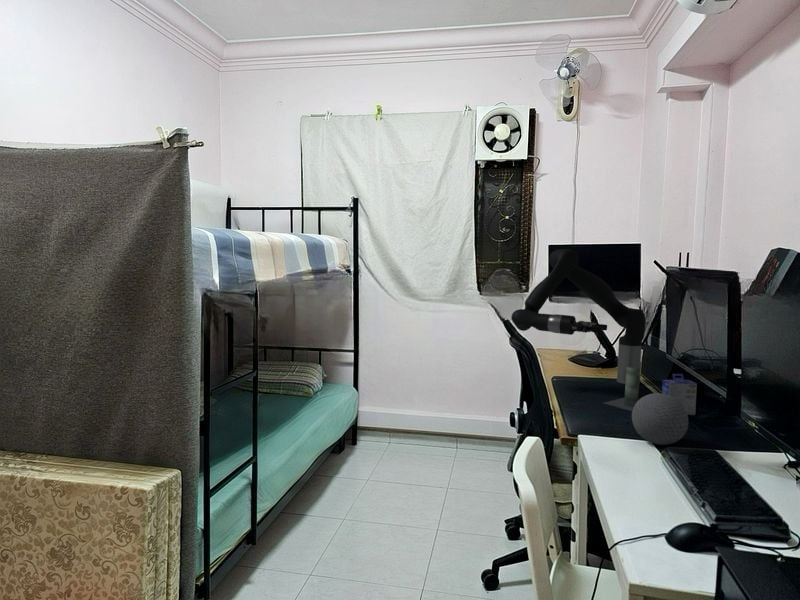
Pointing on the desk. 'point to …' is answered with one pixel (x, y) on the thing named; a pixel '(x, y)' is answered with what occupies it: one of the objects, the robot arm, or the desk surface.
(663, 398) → the decorative ball
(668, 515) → the desk surface
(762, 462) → the desk surface
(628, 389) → the green pillar
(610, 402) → the tapping mat
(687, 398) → the ink cartridge box
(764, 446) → the desk surface
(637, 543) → the desk surface
